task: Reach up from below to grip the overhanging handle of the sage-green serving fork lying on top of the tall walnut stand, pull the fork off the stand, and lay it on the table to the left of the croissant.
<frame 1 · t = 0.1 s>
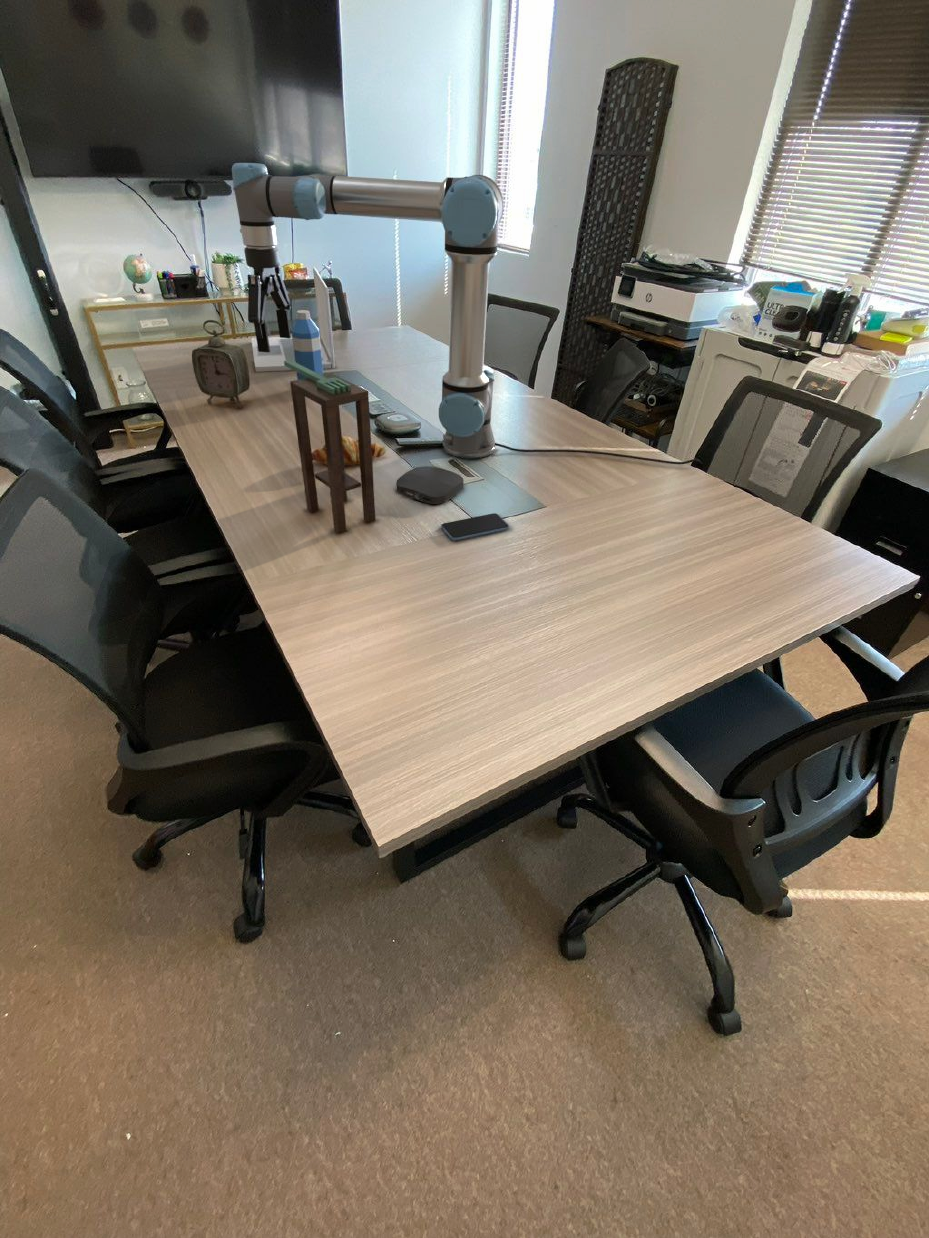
hand: (275, 344, 152), 28 cm above the table, tool pointing down, fingers open, 13 cm apart
plant stand: (341, 515, 142), on the table
croissant: (349, 461, 166), on the table
fork: (313, 378, 127), point 30 cm above the table, touching plant stand
tabletop clock: (229, 404, 195), on the table
media streaming box: (430, 489, 155), on the table
smartphone: (475, 528, 140), on the table
laptop: (291, 355, 240), on the table
water bottle: (312, 391, 208), on the table
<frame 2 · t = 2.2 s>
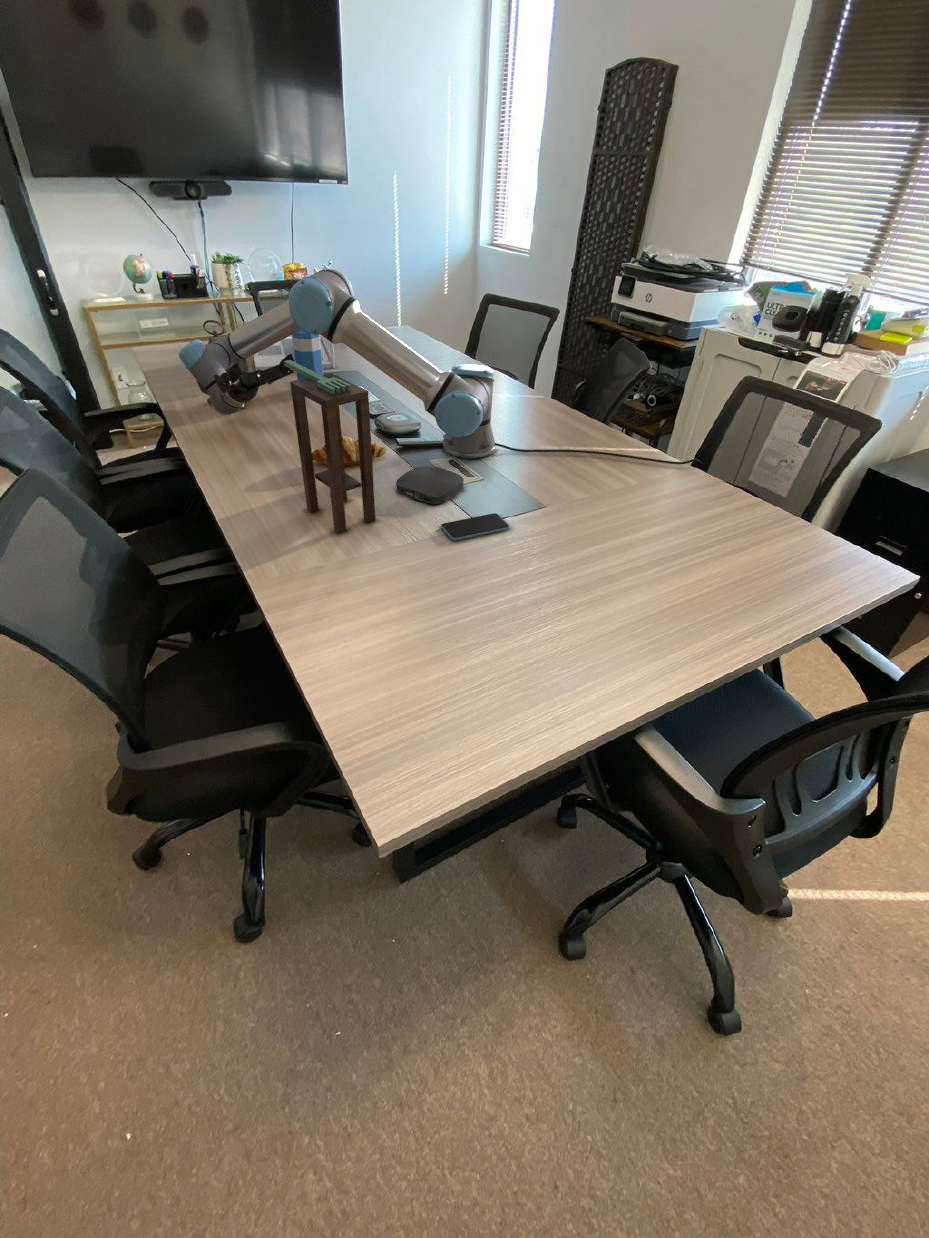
hand: (266, 364, 141), 28 cm above the table, tool pointing upward, fingers open, 13 cm apart
nothing on the table moved.
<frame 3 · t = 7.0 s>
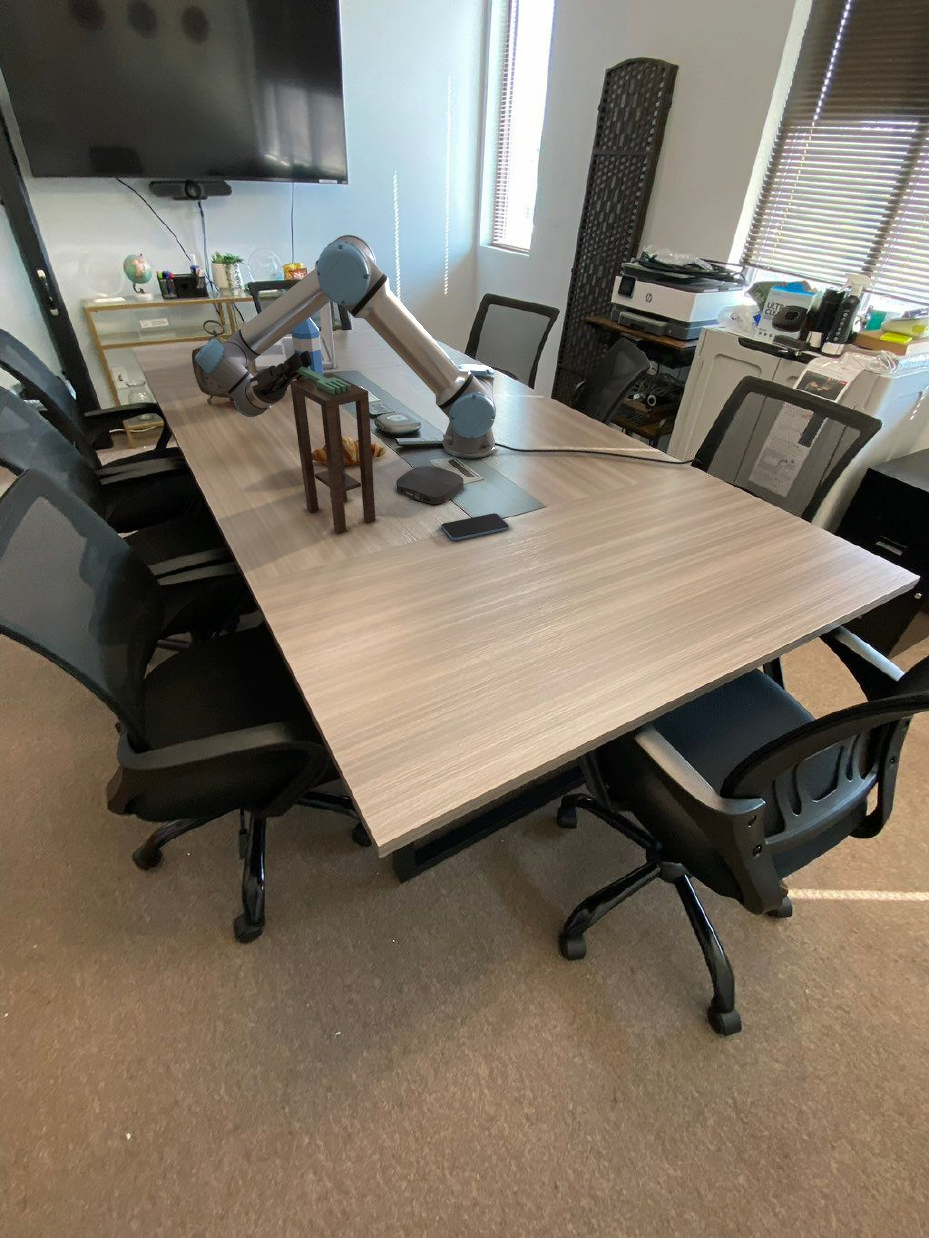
hand: (303, 358, 127), 33 cm above the table, tool pointing upward, fingers closed on fork, 2 cm apart
fork: (313, 378, 127), point 30 cm above the table, touching gripper
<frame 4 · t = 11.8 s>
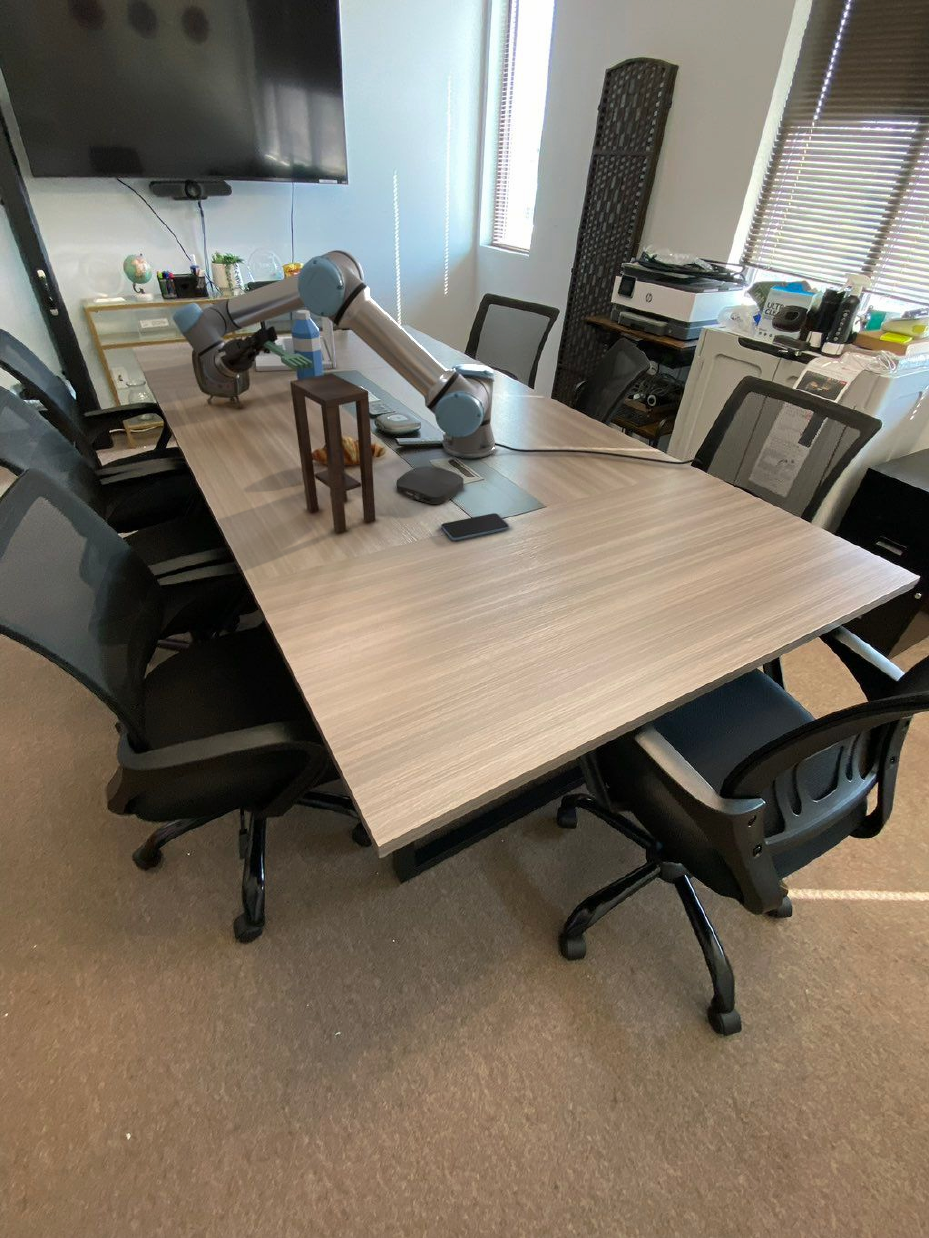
hand: (269, 333, 134), 35 cm above the table, tool pointing upward, fingers closed on fork, 2 cm apart
fork: (278, 353, 135), point 31 cm above the table, touching gripper
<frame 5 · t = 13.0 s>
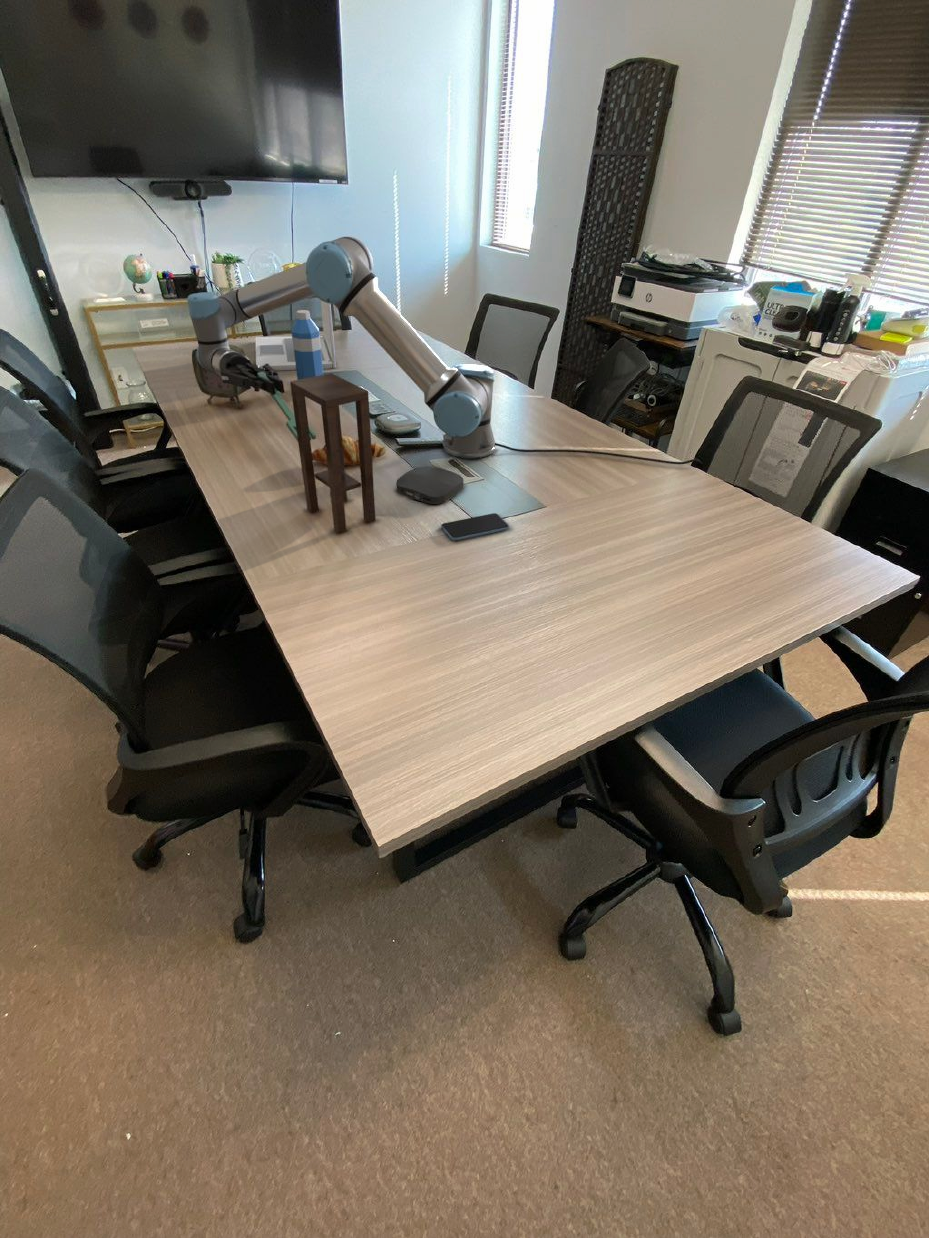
hand: (277, 387, 142), 23 cm above the table, tool horizontal, fingers closed on fork, 2 cm apart
fork: (283, 407, 144), point 19 cm above the table, tilted 27°, touching gripper
when the fingers open (10 cm above the table, at t = 17.0 s): fork drops 5 cm, on the table.
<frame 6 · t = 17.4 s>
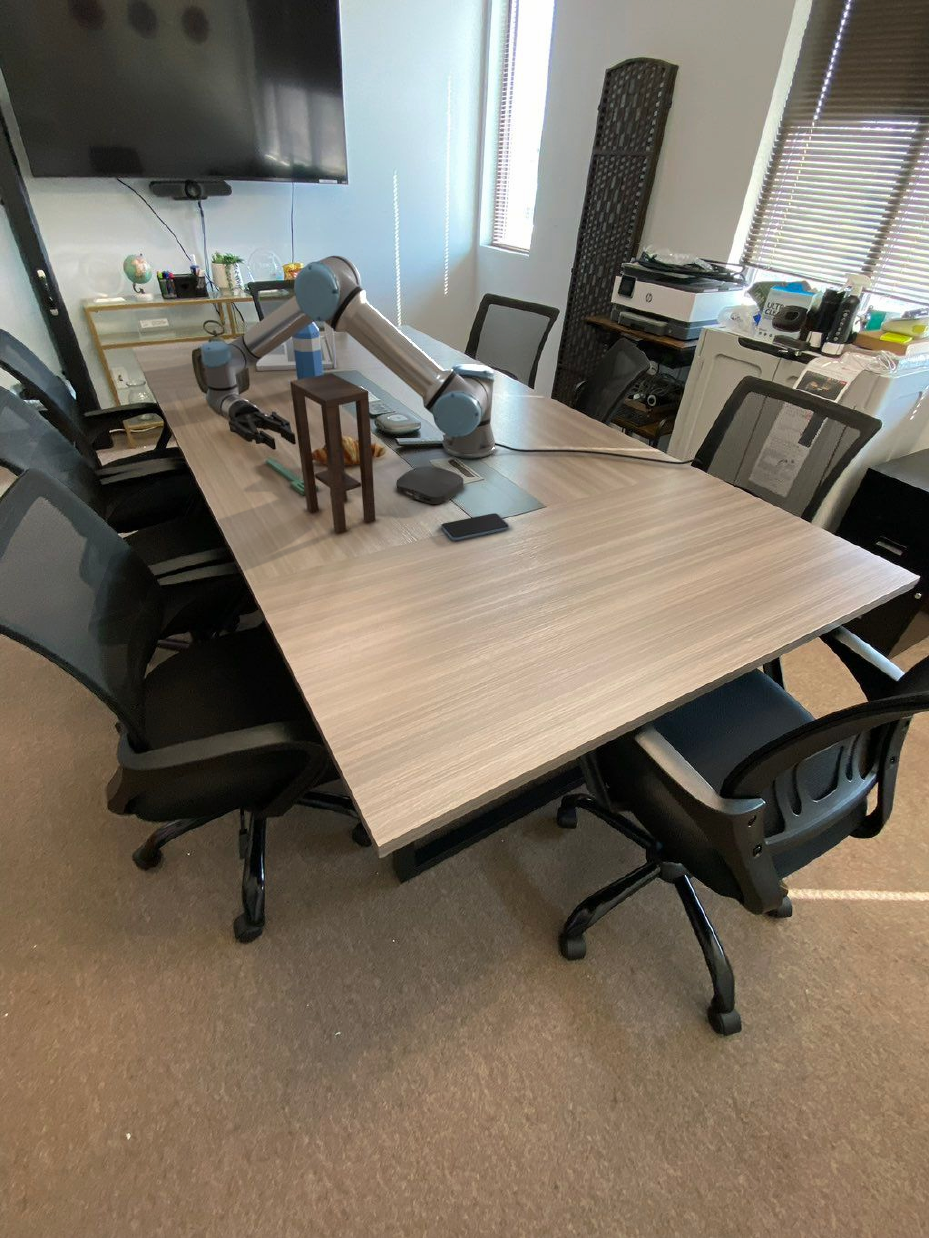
hand: (283, 441, 150), 10 cm above the table, tool horizontal, fingers open, 5 cm apart
fork: (288, 477, 156), on the table
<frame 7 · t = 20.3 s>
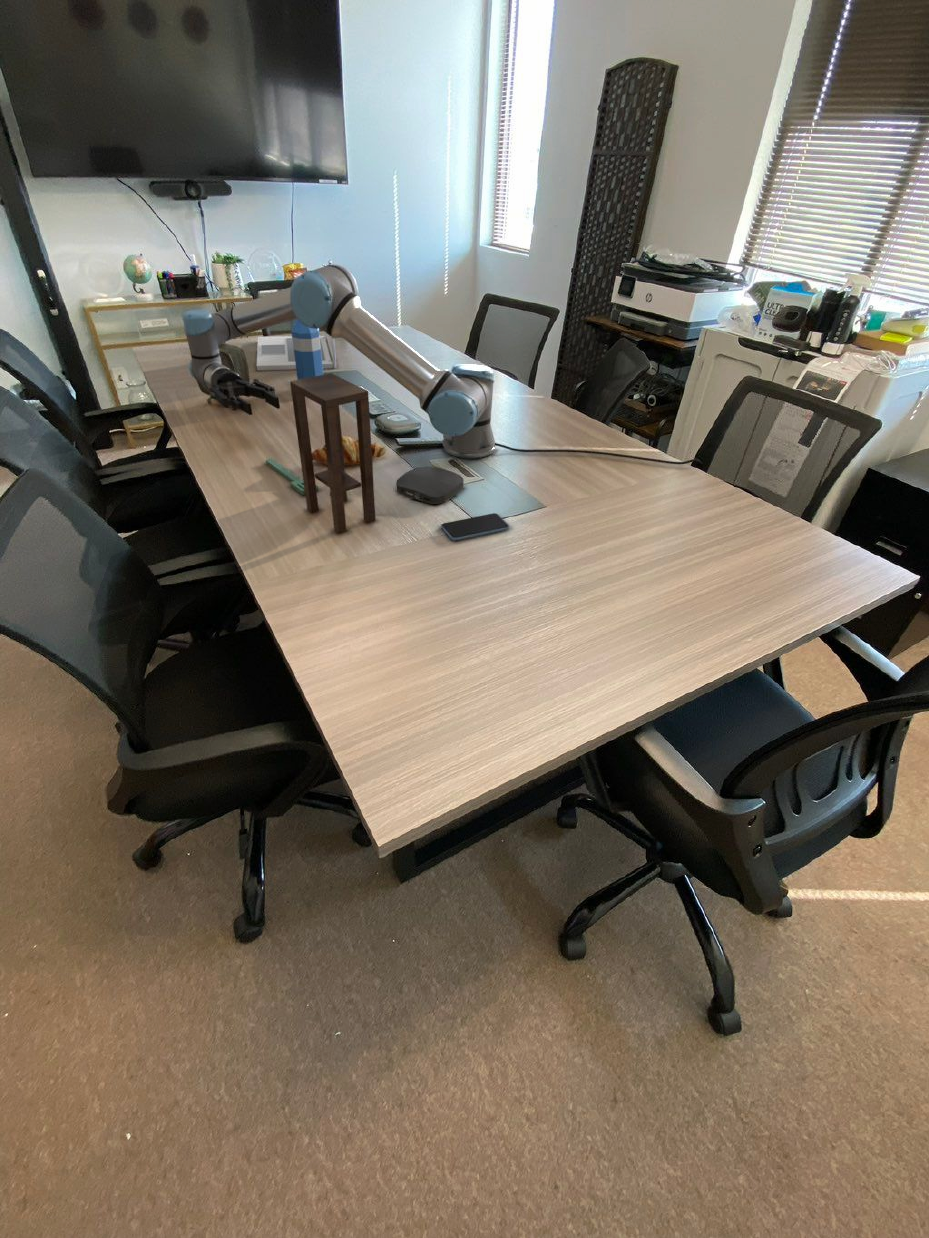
hand: (264, 406, 151), 16 cm above the table, tool horizontal, fingers open, 7 cm apart
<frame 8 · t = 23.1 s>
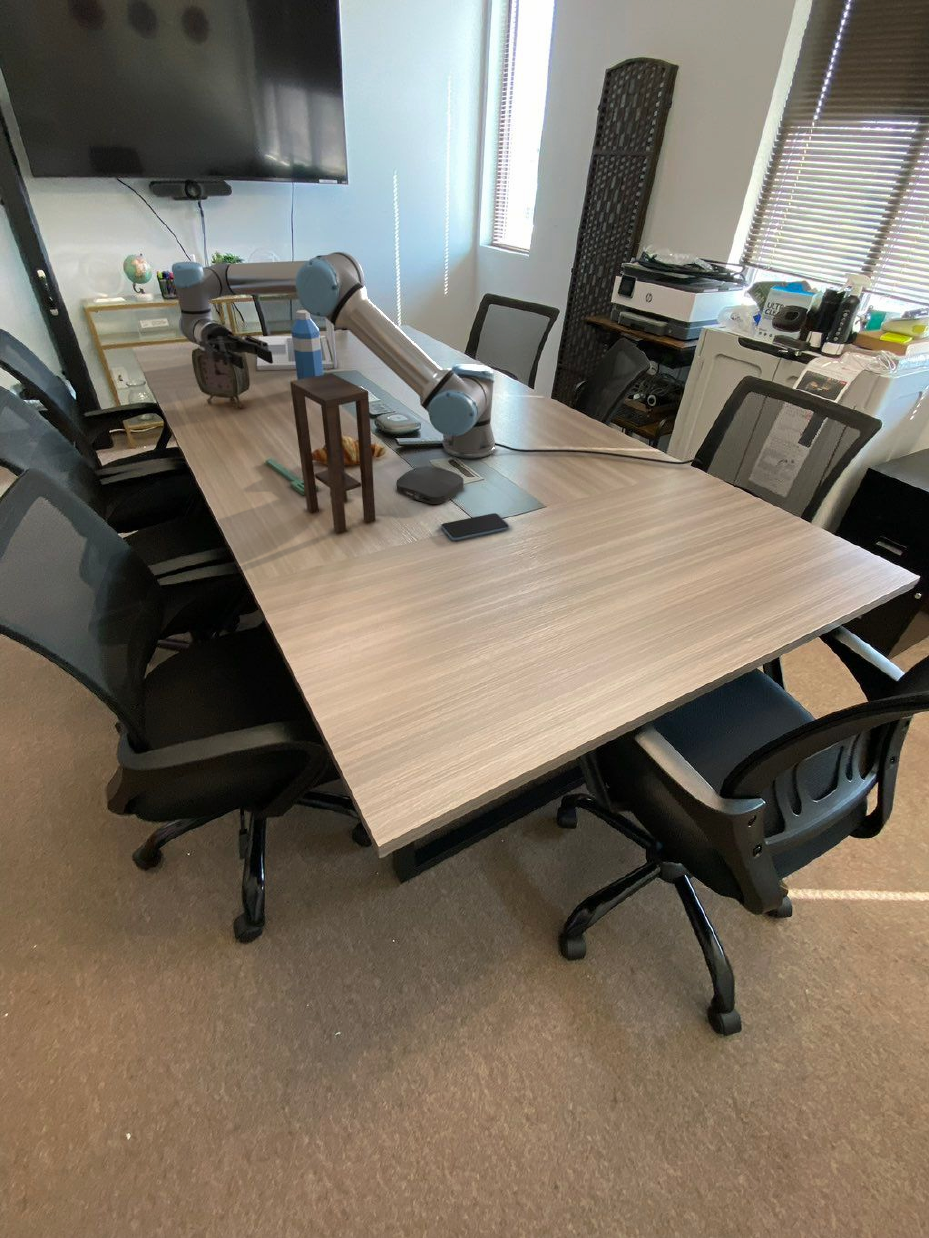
hand: (256, 360, 144), 27 cm above the table, tool horizontal, fingers open, 7 cm apart
at the end: fork on the table; fork 18.1 cm from the croissant (horizontally); croissant moved 0.2 cm from its start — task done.
